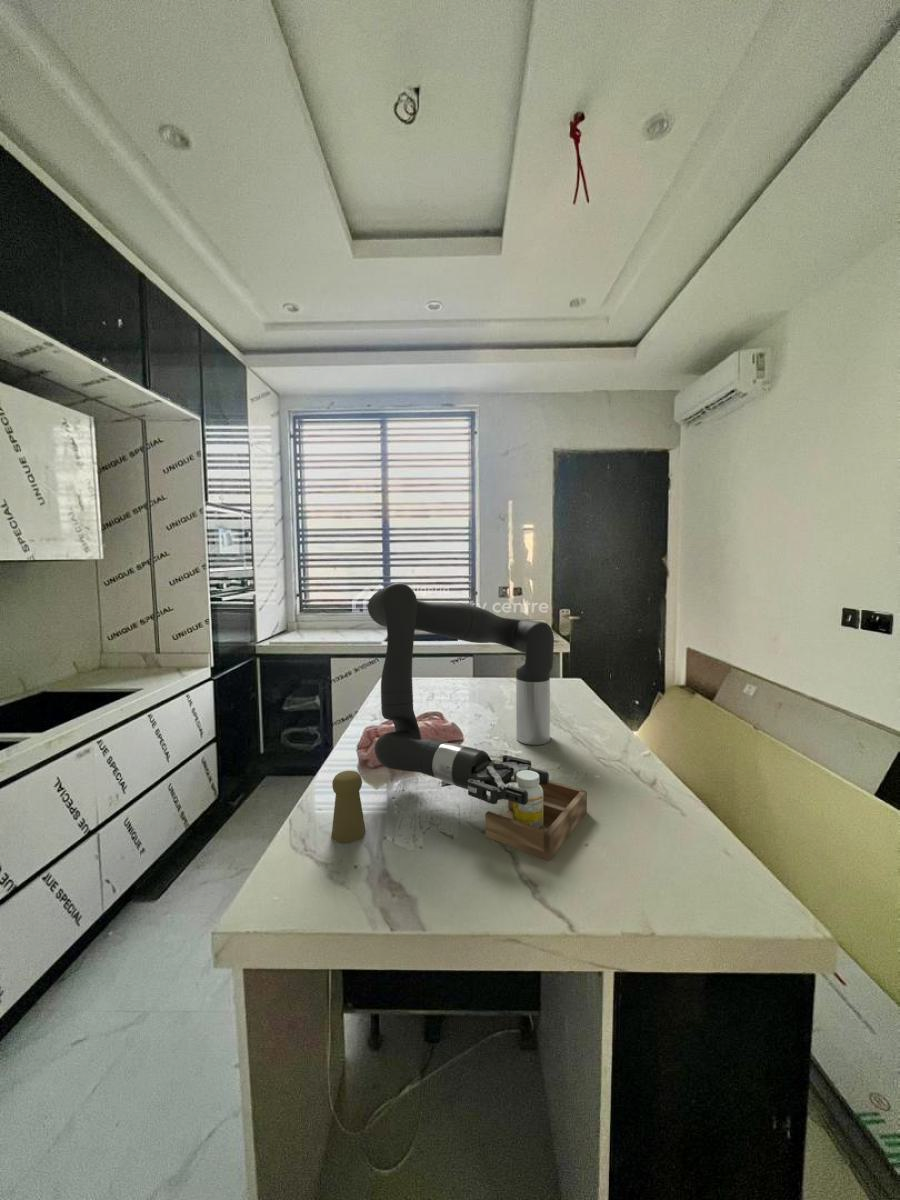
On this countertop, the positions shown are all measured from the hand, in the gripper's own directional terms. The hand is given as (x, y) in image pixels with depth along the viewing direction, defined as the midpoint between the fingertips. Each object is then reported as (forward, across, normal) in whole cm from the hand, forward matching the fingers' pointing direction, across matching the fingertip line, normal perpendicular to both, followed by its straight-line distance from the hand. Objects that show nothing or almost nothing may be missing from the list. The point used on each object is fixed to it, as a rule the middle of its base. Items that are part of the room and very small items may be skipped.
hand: (538, 788), depth 78 cm
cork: (-29, -18, +9) cm, 35 cm away
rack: (-2, +4, +9) cm, 10 cm away
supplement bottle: (-2, 0, +8) cm, 8 cm away
